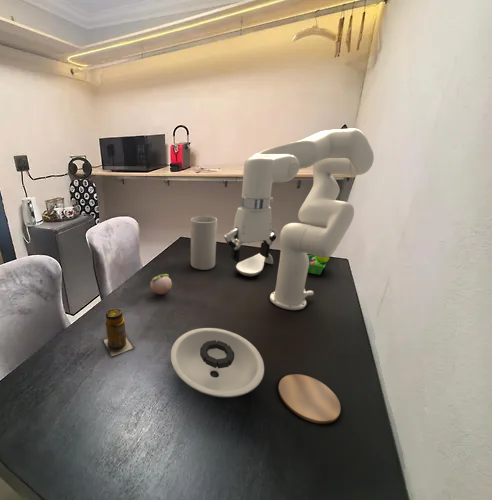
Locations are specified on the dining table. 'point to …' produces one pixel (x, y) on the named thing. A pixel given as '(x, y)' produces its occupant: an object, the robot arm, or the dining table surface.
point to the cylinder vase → (203, 242)
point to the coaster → (309, 398)
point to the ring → (213, 361)
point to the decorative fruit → (161, 284)
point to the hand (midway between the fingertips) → (249, 258)
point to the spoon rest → (253, 265)
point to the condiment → (116, 333)
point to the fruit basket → (316, 264)
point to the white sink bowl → (230, 378)
